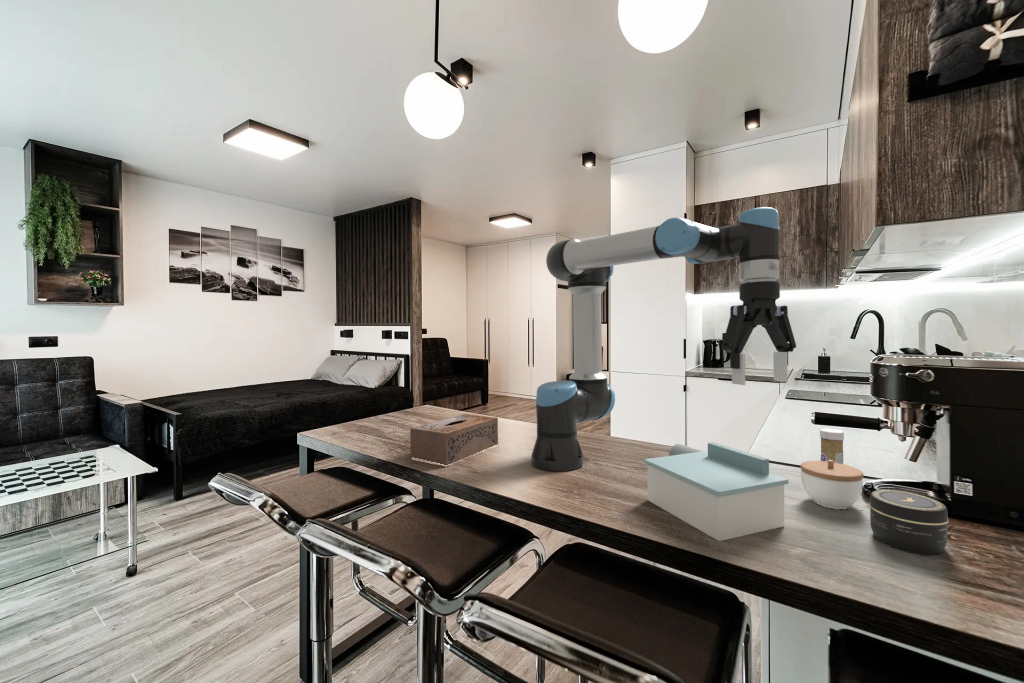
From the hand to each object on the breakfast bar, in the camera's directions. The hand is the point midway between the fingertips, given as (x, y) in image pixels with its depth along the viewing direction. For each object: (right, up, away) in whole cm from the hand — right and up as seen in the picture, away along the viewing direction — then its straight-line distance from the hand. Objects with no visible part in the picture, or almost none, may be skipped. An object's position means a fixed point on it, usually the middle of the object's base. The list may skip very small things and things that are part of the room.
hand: (759, 382), depth 91 cm
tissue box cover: (-72, -27, +43) cm, 88 cm away
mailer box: (-13, -26, -4) cm, 30 cm away
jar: (+15, -27, -17) cm, 35 cm away
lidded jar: (+15, -26, -1) cm, 30 cm away
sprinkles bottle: (+23, -26, +10) cm, 36 cm away
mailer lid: (-13, -18, -4) cm, 22 cm away
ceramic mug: (-7, -26, +19) cm, 33 cm away
